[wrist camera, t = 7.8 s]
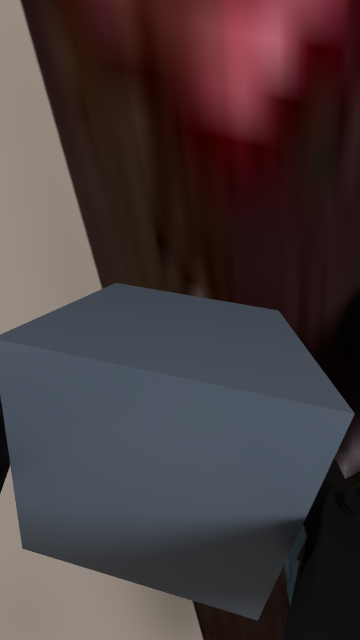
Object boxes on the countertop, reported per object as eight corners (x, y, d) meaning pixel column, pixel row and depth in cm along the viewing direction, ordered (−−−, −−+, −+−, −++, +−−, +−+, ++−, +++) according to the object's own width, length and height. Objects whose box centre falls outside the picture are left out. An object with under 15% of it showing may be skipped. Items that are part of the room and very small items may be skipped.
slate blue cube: (278, 310, 13) (354, 413, 5) (241, 440, 16) (257, 620, 9) (116, 283, 14) (-8, 338, 6) (110, 410, 17) (22, 548, 10)
